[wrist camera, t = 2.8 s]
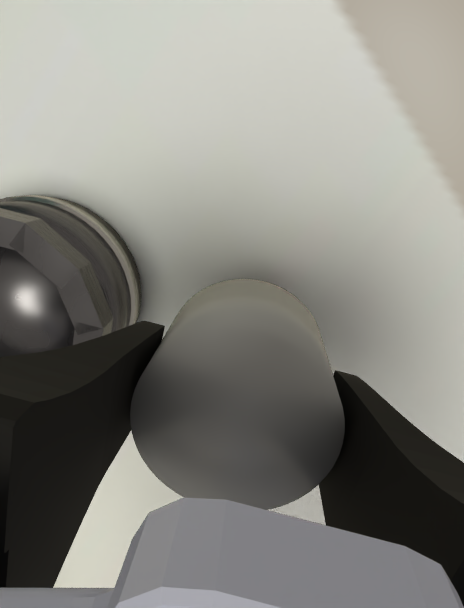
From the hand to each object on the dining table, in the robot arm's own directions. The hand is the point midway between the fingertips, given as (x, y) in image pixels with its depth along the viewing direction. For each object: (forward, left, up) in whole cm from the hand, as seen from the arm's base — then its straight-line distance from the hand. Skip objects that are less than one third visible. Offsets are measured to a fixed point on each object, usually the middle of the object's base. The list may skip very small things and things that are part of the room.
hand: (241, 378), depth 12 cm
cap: (0, 0, -2) cm, 2 cm away
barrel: (-2, +9, -7) cm, 12 cm away
